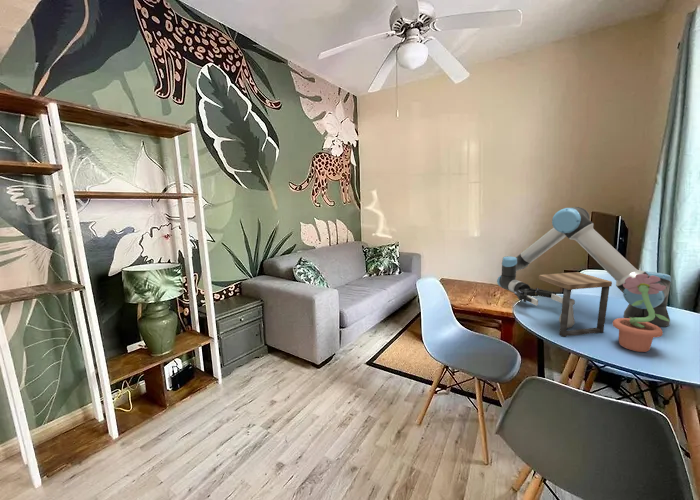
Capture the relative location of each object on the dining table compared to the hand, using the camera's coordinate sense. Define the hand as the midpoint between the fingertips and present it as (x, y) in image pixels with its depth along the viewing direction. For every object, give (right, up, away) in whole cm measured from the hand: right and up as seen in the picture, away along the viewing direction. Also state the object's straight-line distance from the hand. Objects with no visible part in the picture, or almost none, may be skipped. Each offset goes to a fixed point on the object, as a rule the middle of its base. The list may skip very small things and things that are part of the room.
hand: (550, 301), depth 142 cm
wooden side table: (+2, -10, -9) cm, 14 cm away
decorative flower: (+14, -13, -28) cm, 34 cm away
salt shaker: (+2, -10, -8) cm, 13 cm away
